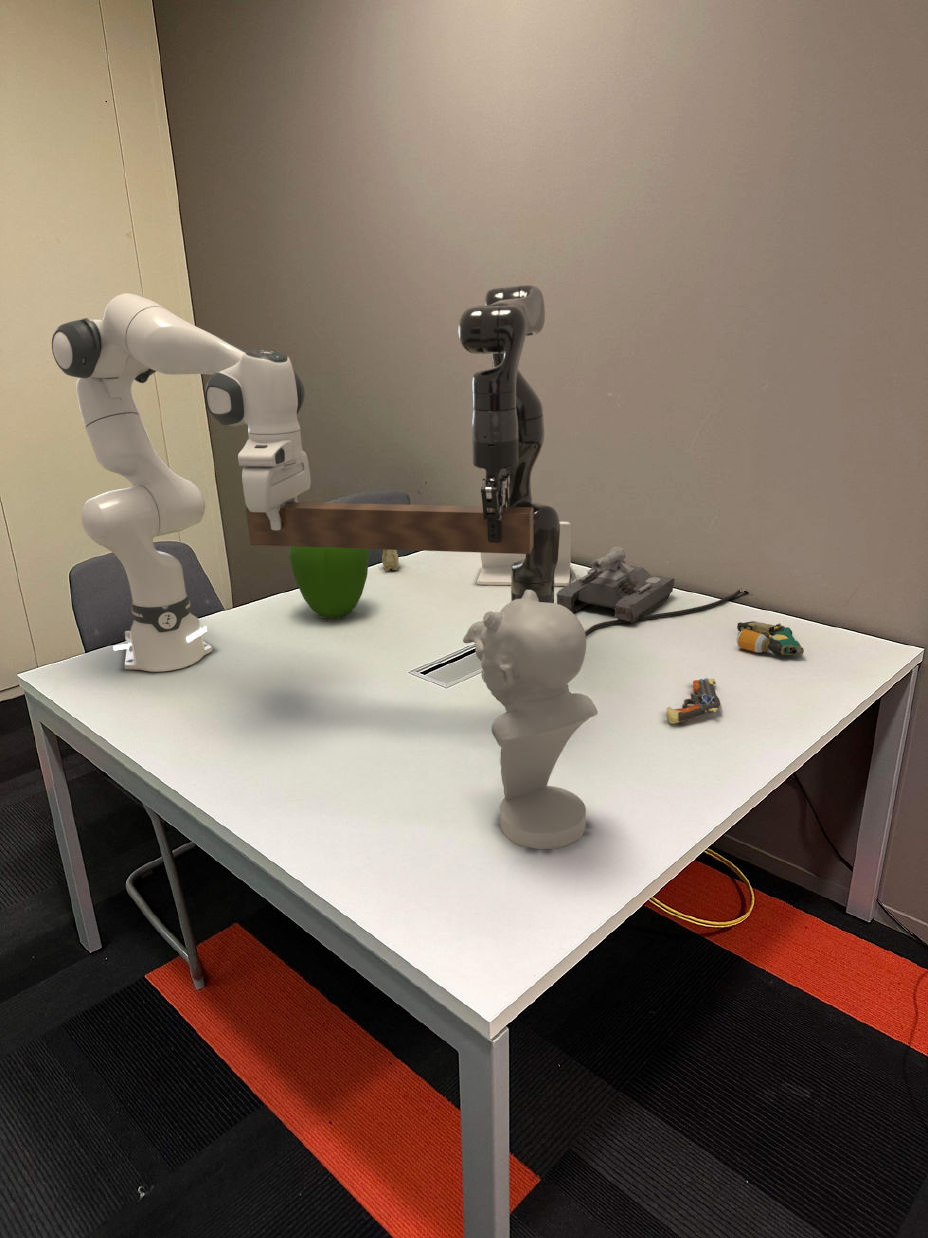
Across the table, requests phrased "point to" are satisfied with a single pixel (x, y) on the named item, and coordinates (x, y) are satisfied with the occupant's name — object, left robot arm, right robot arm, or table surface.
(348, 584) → the vase
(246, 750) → the table surface
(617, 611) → the toy
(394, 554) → the sculpture
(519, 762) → the bust sculpture
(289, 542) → the beam
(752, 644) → the spray gun
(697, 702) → the toy gun
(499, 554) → the tablet stand
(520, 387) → the right robot arm
